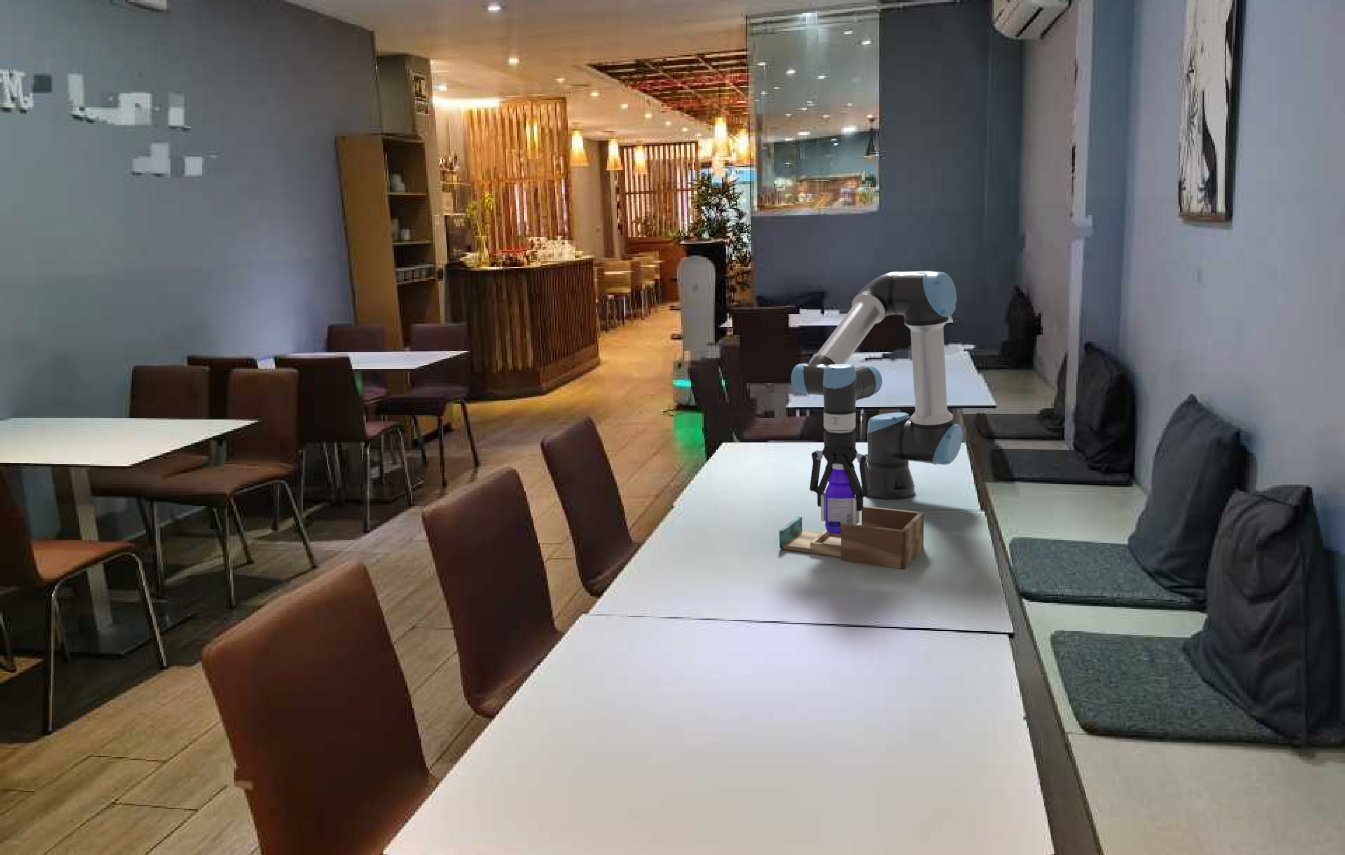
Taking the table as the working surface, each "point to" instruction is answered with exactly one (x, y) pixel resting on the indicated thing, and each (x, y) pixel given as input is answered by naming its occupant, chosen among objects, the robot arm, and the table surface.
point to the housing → (883, 537)
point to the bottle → (838, 500)
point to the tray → (809, 540)
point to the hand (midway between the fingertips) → (840, 521)
